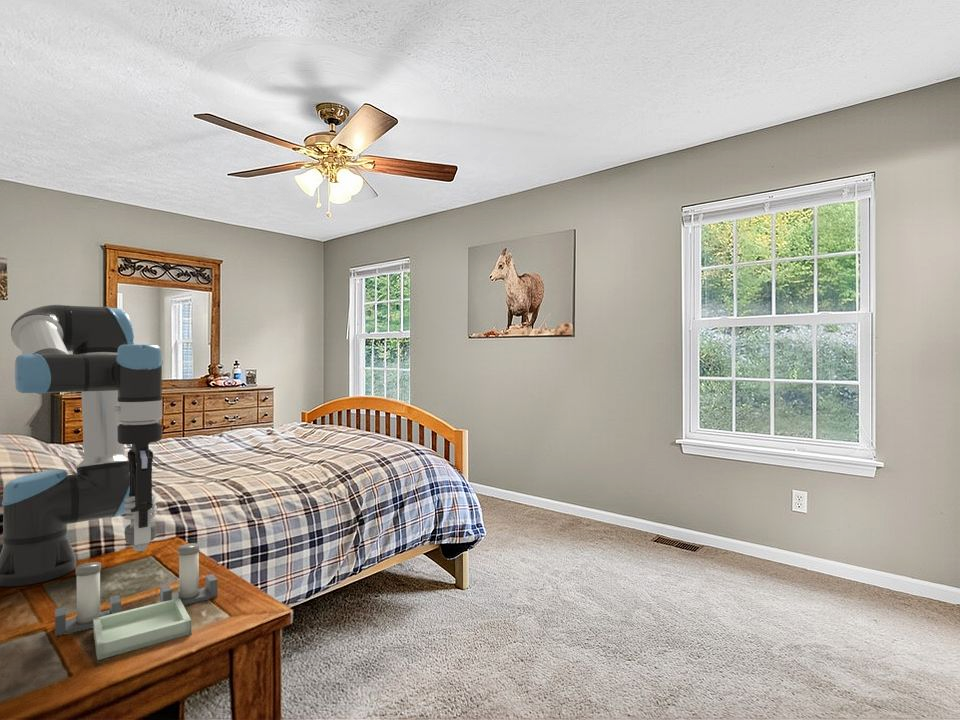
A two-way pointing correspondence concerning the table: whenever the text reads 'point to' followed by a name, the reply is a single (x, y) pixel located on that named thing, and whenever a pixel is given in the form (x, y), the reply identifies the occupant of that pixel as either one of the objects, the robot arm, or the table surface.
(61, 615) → the clip block
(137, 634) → the tray
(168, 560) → the table surface
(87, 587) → the fuse
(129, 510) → the light bulb
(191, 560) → the grey capped cylinder
